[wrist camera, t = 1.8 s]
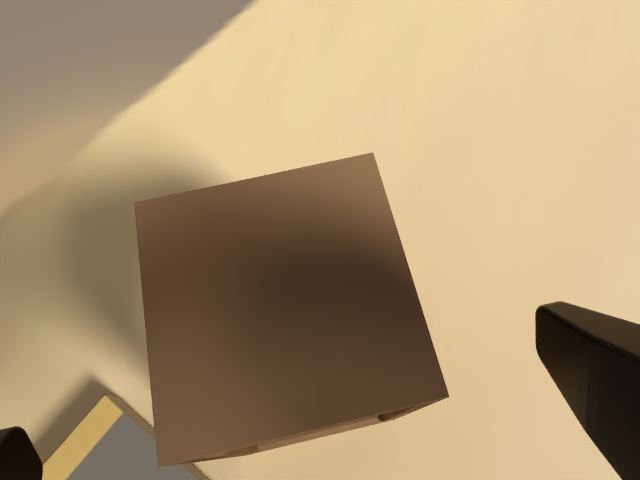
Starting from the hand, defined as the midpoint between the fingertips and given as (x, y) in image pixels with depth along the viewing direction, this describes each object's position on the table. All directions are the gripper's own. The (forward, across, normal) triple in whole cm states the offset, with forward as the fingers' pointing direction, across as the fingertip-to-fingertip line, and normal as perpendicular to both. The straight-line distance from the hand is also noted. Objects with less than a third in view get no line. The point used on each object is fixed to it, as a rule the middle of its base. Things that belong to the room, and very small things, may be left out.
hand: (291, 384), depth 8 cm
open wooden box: (+11, 0, +8) cm, 13 cm away
